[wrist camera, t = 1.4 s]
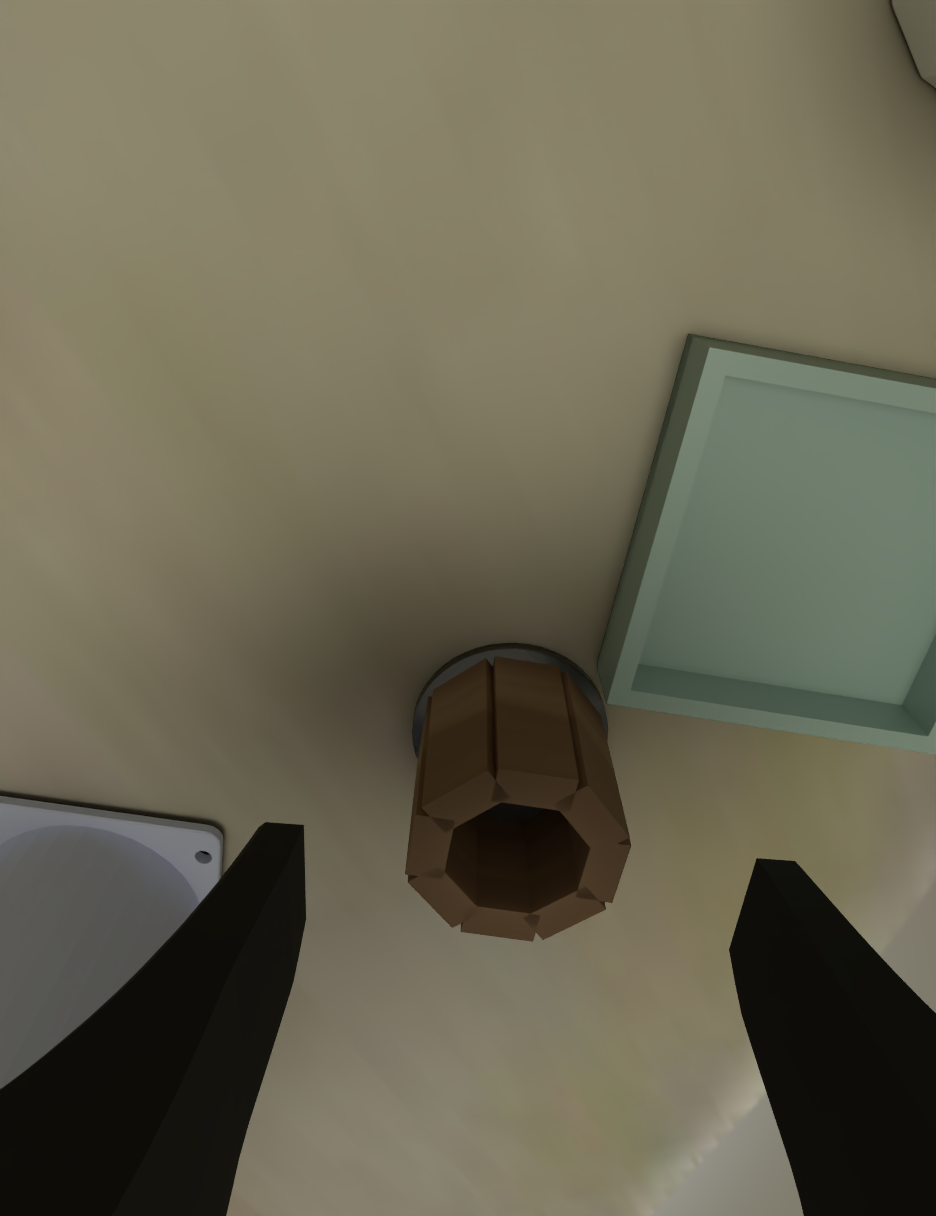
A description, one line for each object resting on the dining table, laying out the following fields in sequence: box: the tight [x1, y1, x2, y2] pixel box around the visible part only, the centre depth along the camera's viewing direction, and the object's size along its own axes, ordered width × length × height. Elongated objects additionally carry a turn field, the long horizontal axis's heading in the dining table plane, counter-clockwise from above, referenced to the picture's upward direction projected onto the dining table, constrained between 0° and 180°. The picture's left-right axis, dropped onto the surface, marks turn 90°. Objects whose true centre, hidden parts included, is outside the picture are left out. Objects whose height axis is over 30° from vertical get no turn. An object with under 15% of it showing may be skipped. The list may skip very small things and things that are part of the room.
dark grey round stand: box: [412, 643, 608, 822], centre depth 23 cm, size 6×6×3 cm
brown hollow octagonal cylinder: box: [405, 656, 631, 941], centre depth 22 cm, size 6×5×5 cm
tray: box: [597, 334, 936, 754], centre depth 21 cm, size 9×9×2 cm
